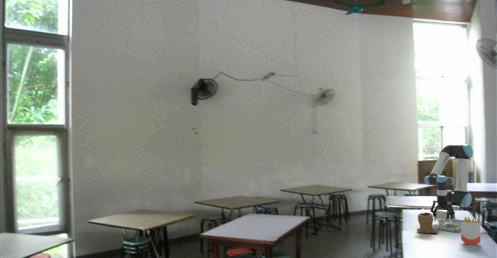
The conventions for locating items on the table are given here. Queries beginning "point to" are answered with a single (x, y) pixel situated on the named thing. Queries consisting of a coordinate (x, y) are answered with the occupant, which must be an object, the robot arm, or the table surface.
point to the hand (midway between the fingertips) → (442, 221)
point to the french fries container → (470, 231)
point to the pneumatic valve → (441, 215)
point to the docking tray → (450, 228)
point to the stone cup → (426, 223)
